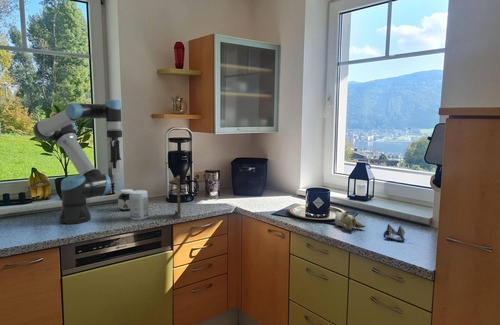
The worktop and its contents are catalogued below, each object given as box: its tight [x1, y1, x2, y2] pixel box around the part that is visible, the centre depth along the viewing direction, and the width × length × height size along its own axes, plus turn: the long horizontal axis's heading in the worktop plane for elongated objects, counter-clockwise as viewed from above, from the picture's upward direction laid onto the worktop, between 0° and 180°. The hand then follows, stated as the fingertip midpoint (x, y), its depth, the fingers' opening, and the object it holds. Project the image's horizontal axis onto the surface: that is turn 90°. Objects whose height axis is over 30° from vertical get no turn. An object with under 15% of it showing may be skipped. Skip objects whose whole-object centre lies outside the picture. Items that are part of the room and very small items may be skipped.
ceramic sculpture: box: [334, 210, 366, 231], centre depth 183 cm, size 11×9×15 cm
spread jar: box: [117, 188, 134, 212], centre depth 221 cm, size 12×11×12 cm
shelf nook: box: [169, 175, 182, 220], centre depth 204 cm, size 5×10×22 cm, turn 11°
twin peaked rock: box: [383, 224, 406, 243], centre depth 169 cm, size 12×7×12 cm
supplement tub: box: [129, 189, 150, 221], centre depth 200 cm, size 10×10×15 cm
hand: (116, 173), depth 196 cm, fingers open, 7 cm apart
